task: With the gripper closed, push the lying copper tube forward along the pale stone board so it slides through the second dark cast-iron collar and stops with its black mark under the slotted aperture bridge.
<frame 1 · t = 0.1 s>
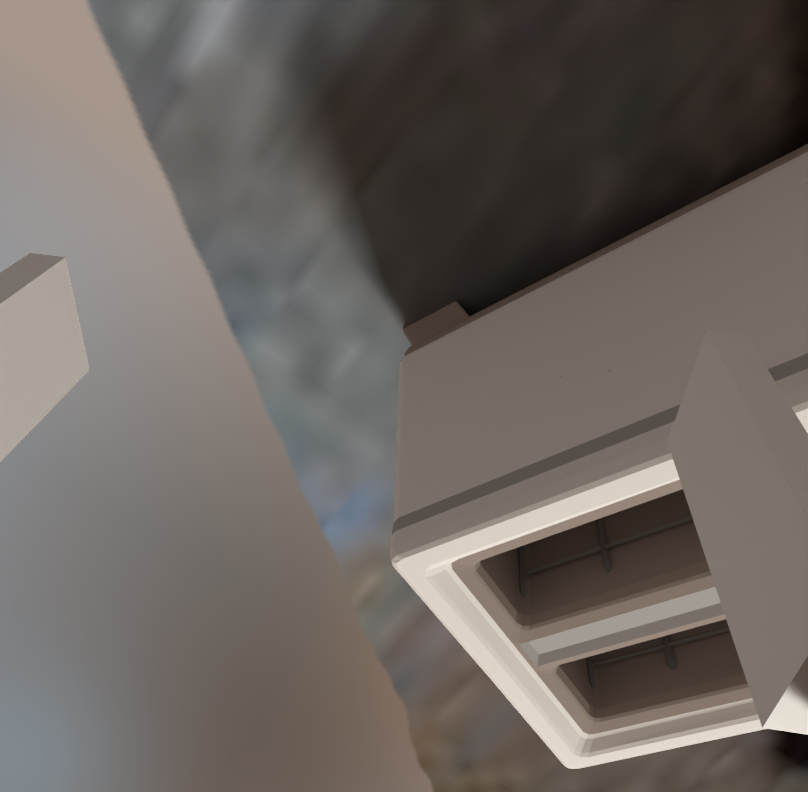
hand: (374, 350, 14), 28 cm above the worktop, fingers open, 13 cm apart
toaster: (711, 326, 43), on the worktop
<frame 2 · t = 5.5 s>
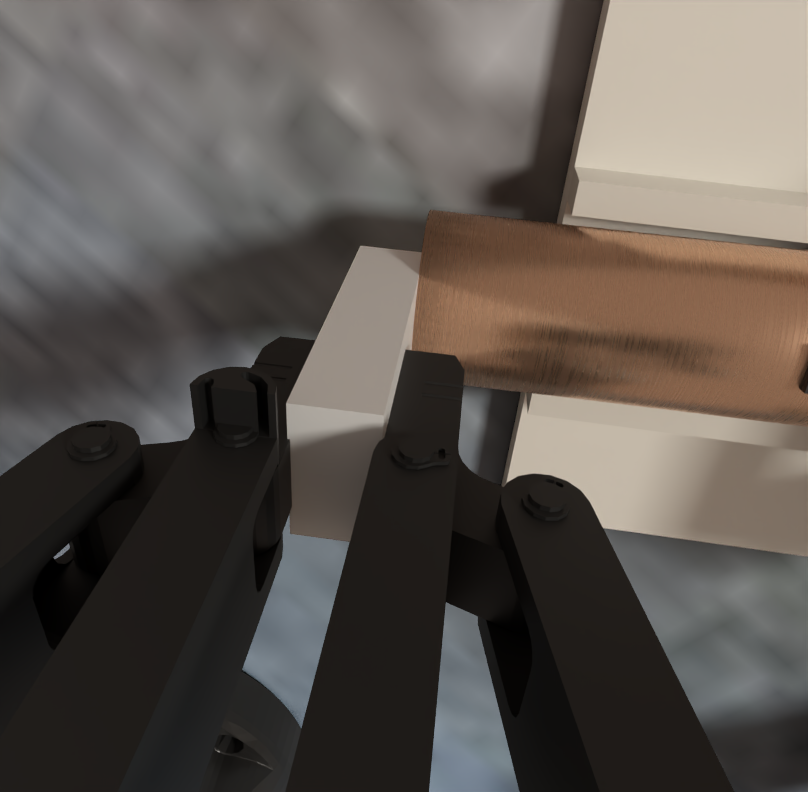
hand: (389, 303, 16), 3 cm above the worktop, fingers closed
tube: (772, 314, 18), point 1 cm above the worktop, tilted 9°, touching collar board
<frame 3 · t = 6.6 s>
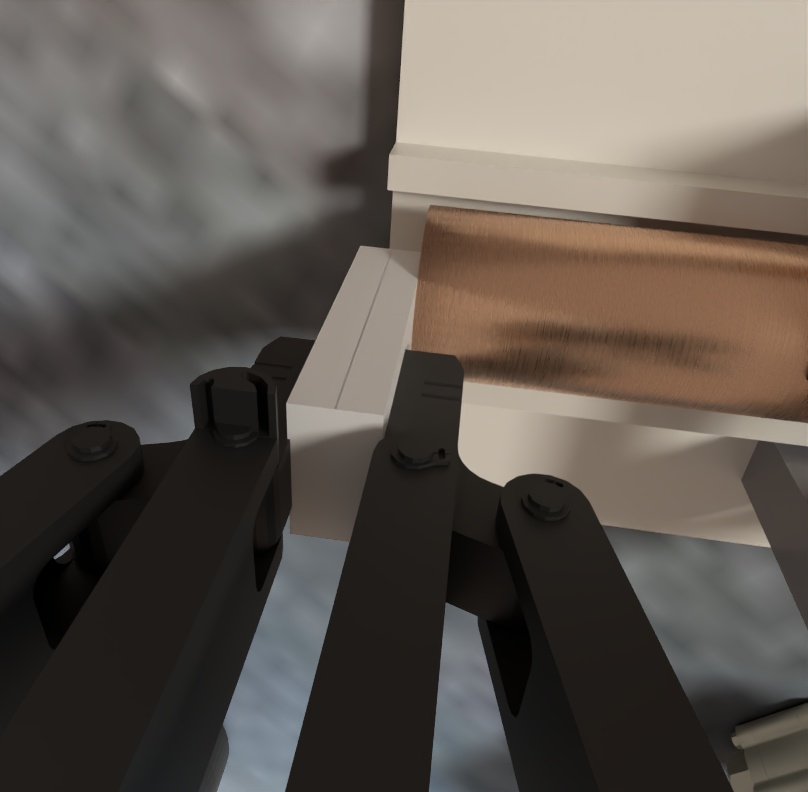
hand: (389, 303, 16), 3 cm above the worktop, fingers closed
tube: (775, 315, 18), point 1 cm above the worktop, tilted 13°, touching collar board, gripper
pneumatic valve: (793, 731, 29), on the worktop
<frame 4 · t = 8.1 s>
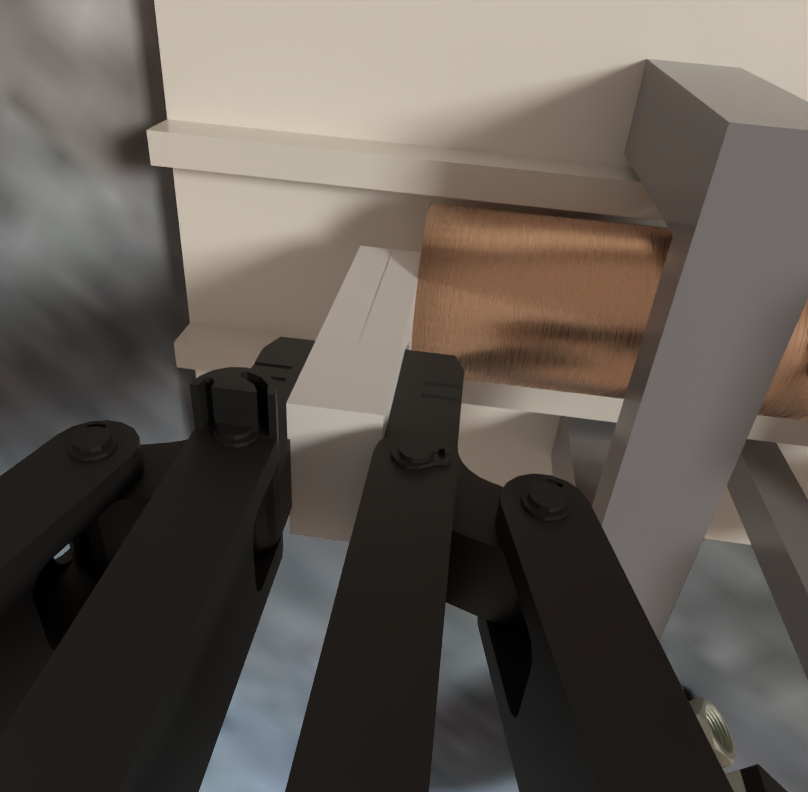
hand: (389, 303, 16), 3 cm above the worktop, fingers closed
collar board: (660, 283, 19), on the worktop
tube: (774, 315, 18), point 1 cm above the worktop, tilted 15°, touching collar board, gripper
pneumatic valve: (655, 710, 29), on the worktop
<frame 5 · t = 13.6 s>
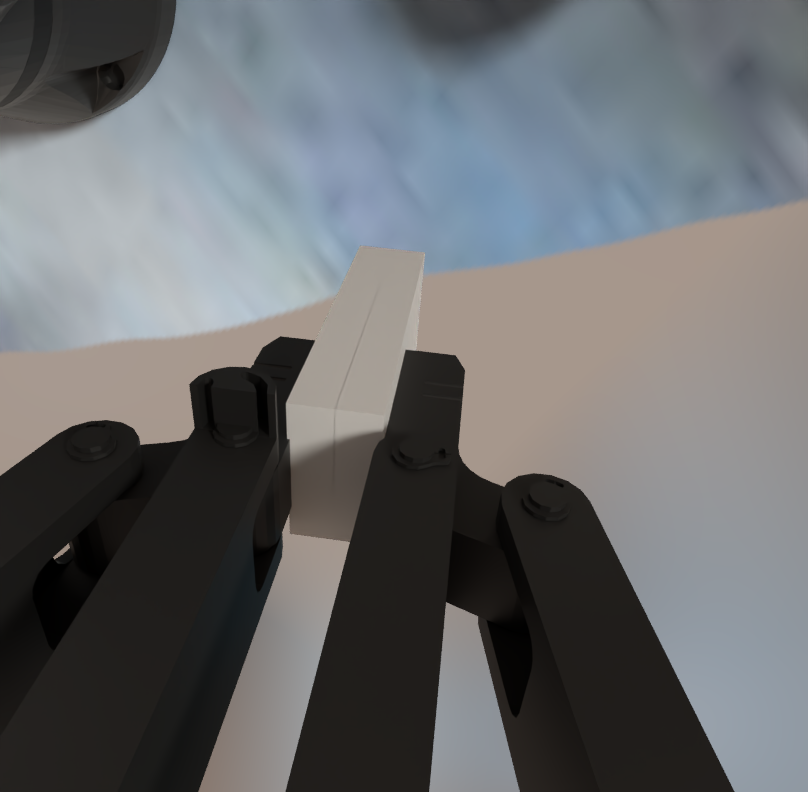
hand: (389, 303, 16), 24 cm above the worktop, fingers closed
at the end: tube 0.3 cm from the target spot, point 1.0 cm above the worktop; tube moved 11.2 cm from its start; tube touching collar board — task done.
